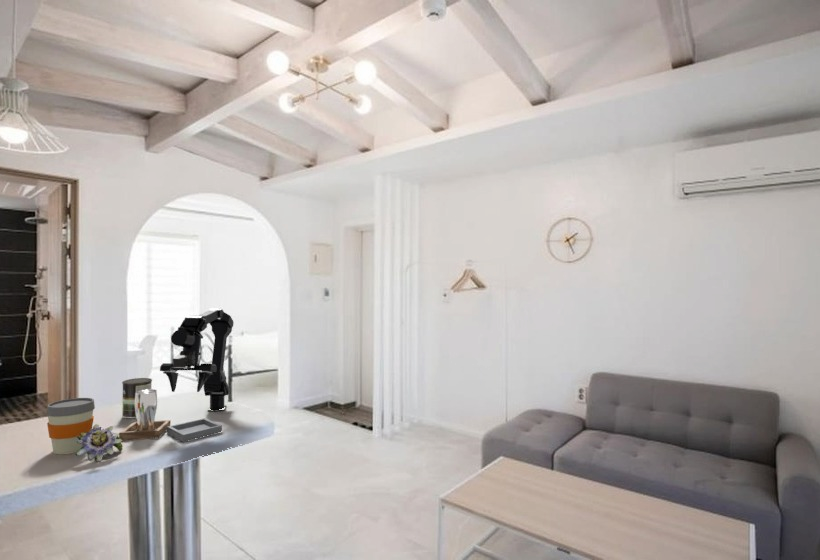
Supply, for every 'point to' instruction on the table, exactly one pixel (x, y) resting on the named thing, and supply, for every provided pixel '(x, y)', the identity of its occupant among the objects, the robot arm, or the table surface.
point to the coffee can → (132, 394)
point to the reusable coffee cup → (69, 423)
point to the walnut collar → (131, 434)
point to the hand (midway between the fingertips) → (185, 391)
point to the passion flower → (98, 442)
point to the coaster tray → (193, 429)
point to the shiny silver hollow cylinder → (145, 409)
